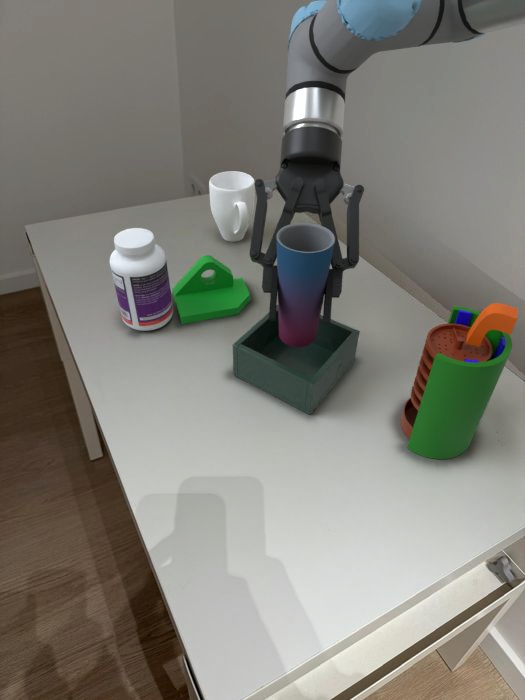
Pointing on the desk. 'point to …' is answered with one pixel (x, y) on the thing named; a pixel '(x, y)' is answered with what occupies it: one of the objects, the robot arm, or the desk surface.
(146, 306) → the pill bottle
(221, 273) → the bracket
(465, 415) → the coaster caddy
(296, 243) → the cup
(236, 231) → the mug
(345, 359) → the holder
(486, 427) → the desk surface
